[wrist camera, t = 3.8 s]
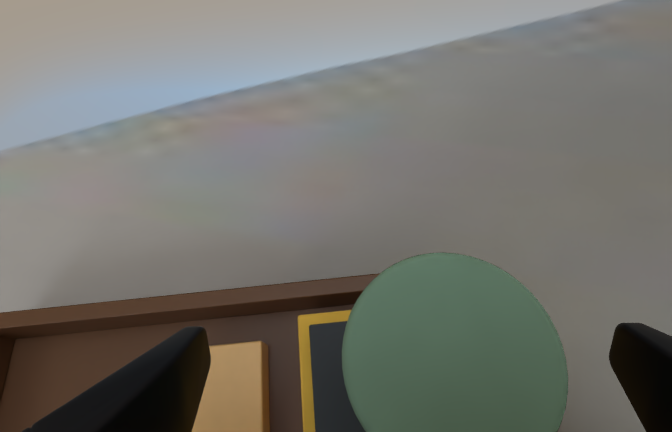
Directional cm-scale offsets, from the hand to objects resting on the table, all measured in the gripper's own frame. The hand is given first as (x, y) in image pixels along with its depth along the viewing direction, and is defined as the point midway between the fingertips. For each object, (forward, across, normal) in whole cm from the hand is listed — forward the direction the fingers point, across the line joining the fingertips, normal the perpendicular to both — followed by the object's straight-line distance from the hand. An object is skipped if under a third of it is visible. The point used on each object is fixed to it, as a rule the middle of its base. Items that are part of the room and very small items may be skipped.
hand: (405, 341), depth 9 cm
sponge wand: (+4, 0, +5) cm, 7 cm away
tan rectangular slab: (+4, +6, +6) cm, 9 cm away
